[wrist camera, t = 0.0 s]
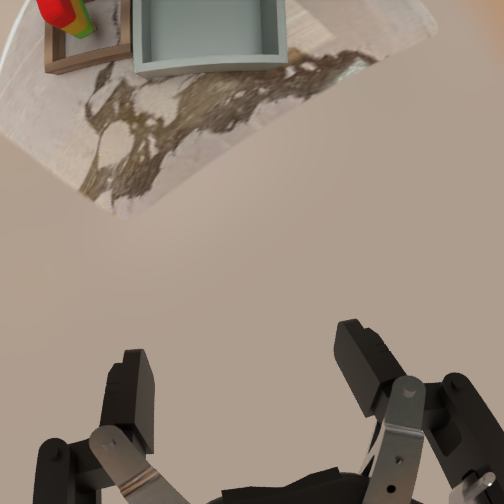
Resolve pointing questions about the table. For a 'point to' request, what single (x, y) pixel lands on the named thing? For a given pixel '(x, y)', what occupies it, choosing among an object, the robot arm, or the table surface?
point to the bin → (207, 36)
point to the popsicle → (67, 16)
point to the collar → (60, 64)
